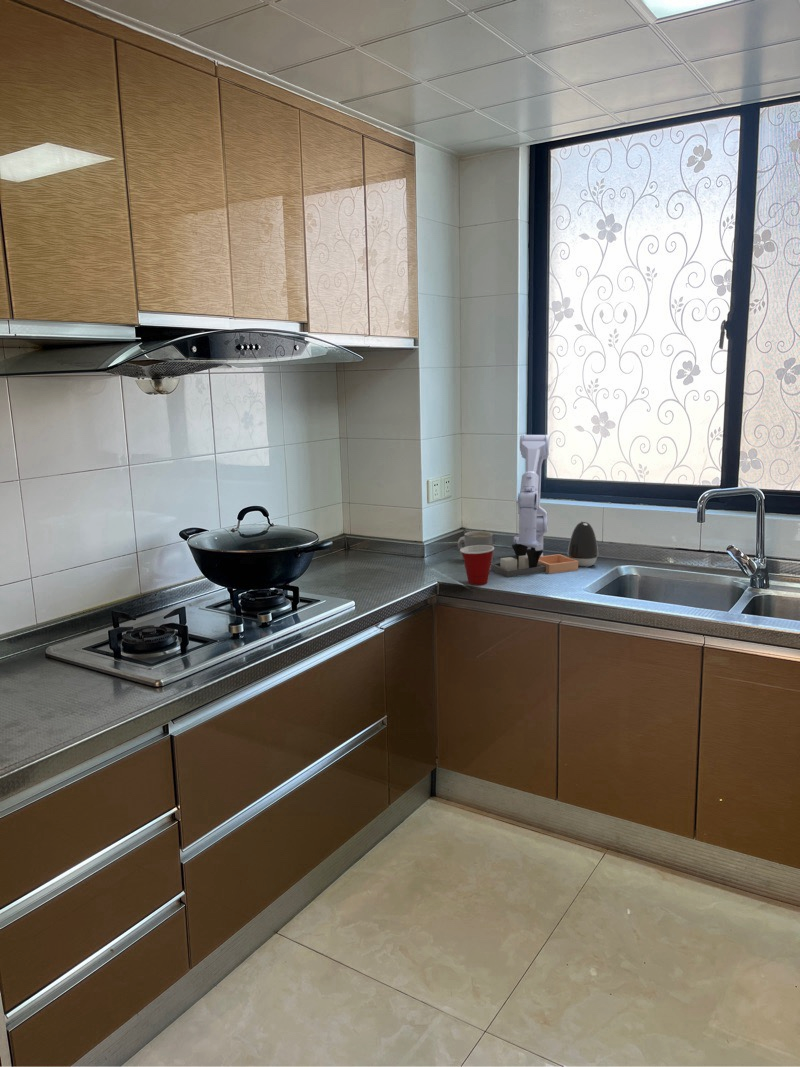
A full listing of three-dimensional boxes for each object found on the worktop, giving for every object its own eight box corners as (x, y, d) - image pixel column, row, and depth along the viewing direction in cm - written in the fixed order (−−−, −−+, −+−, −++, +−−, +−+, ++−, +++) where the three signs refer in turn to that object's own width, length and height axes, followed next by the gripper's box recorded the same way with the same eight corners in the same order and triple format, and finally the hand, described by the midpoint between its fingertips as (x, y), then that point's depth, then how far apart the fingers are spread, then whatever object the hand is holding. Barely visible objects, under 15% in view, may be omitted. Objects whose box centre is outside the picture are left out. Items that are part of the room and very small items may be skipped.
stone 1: (500, 571, 267) (500, 558, 266) (510, 570, 268) (510, 557, 267) (506, 574, 263) (506, 560, 262) (516, 572, 264) (517, 559, 264)
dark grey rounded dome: (595, 561, 280) (596, 519, 277) (599, 569, 270) (601, 524, 267) (565, 561, 281) (567, 519, 278) (569, 568, 271) (570, 524, 268)
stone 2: (518, 569, 269) (518, 556, 268) (528, 567, 271) (529, 554, 270) (524, 571, 266) (525, 558, 265) (535, 570, 267) (535, 557, 266)
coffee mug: (498, 561, 282) (498, 534, 280) (478, 566, 276) (478, 538, 274) (471, 555, 292) (471, 528, 290) (451, 560, 286) (451, 532, 284)
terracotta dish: (531, 567, 273) (531, 557, 272) (559, 564, 277) (559, 554, 276) (549, 575, 263) (549, 564, 262) (578, 571, 267) (578, 561, 266)
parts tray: (490, 571, 269) (490, 563, 269) (527, 566, 275) (527, 559, 274) (507, 579, 259) (507, 571, 259) (545, 574, 264) (545, 566, 264)
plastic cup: (462, 579, 260) (462, 543, 257) (495, 580, 258) (495, 544, 255) (457, 588, 249) (457, 550, 247) (492, 589, 247) (492, 551, 245)
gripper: (506, 524, 270) (505, 563, 273) (528, 532, 257) (528, 573, 260) (524, 523, 273) (523, 561, 276) (547, 530, 260) (546, 571, 263)
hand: (526, 567), depth 268 cm, fingers open, 7 cm apart
